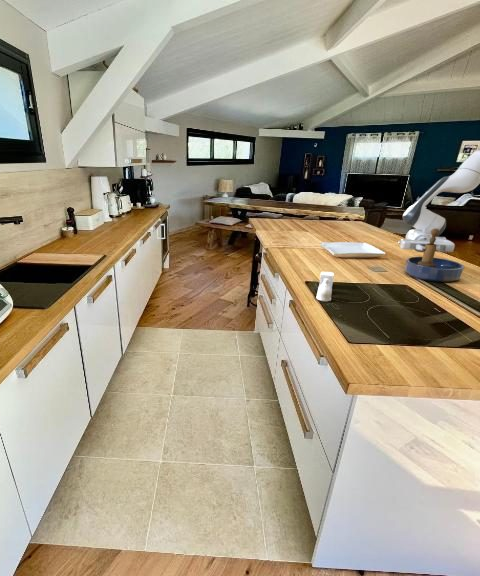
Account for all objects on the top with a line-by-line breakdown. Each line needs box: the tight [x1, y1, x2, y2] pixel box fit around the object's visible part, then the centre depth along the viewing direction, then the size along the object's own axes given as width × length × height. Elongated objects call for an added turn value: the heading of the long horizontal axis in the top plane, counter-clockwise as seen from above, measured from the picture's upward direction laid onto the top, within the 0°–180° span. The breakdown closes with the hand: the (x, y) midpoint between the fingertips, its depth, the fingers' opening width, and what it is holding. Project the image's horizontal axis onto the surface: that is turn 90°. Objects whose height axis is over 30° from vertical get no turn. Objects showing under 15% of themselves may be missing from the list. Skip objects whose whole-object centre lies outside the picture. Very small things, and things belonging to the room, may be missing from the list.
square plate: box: [319, 241, 387, 259], centre depth 179 cm, size 27×27×4 cm
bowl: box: [403, 256, 465, 283], centre depth 140 cm, size 21×21×6 cm
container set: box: [315, 271, 335, 302], centre depth 123 cm, size 20×5×6 cm, turn 156°
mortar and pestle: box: [417, 229, 439, 268], centre depth 138 cm, size 7×6×18 cm
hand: (430, 249), depth 137 cm, fingers closed on mortar and pestle, 4 cm apart
